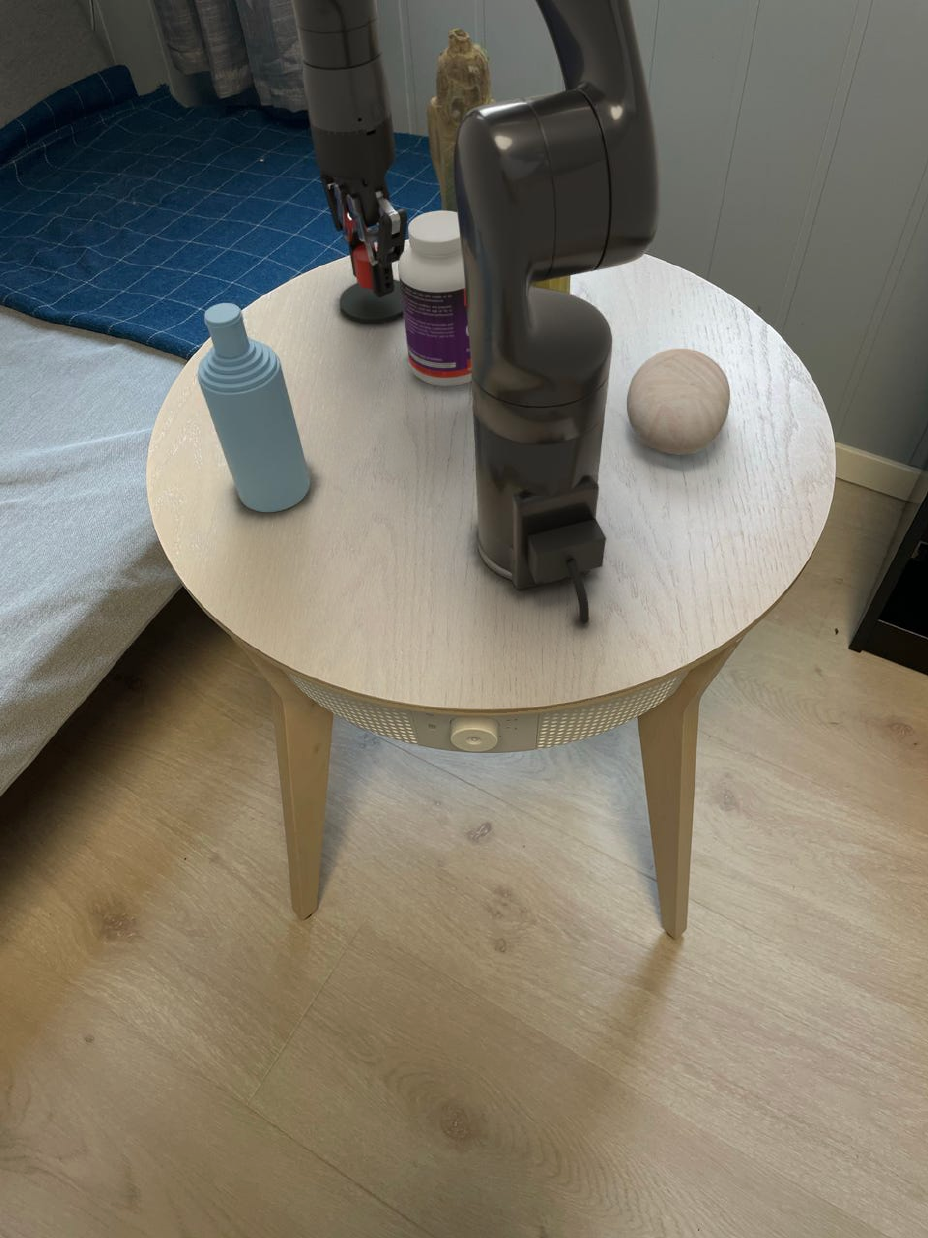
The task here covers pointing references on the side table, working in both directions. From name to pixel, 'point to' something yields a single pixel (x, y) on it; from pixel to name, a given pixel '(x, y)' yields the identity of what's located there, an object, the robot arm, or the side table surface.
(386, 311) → the coaster
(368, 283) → the cap
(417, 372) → the pill bottle
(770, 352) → the side table surface
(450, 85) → the statue
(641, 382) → the decorative stone
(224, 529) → the side table surface
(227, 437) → the bottle
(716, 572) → the side table surface
